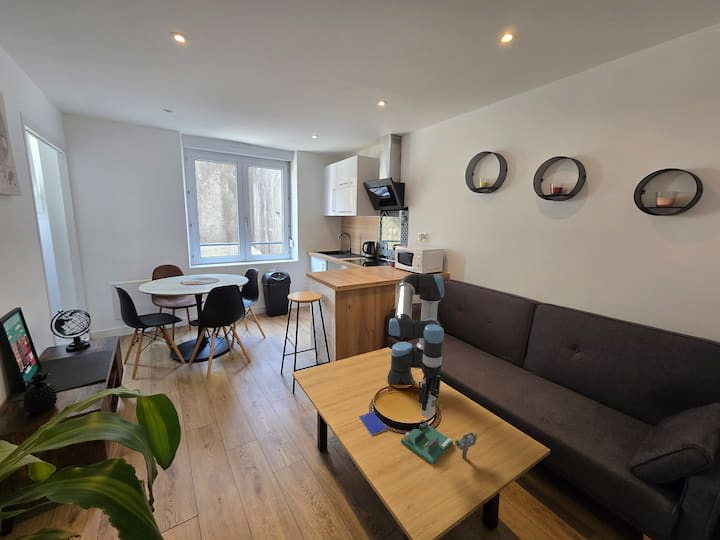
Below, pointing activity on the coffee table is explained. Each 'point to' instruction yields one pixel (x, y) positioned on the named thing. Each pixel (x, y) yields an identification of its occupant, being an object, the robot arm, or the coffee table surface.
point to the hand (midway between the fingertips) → (427, 413)
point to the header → (432, 444)
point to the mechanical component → (466, 443)
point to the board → (429, 436)
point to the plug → (431, 406)
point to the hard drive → (372, 423)
